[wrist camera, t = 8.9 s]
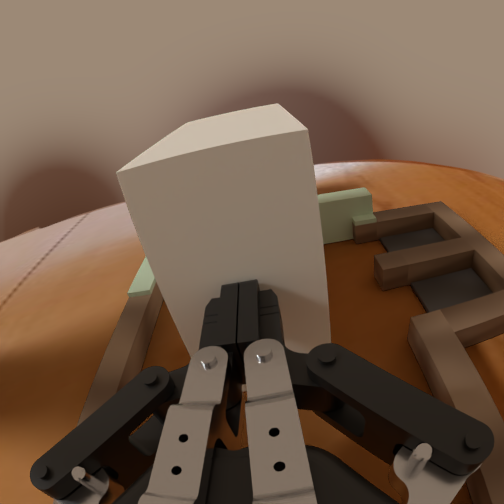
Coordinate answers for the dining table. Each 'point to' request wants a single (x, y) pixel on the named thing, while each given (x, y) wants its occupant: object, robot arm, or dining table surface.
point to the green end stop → (332, 223)
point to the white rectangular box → (233, 219)
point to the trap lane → (420, 328)
